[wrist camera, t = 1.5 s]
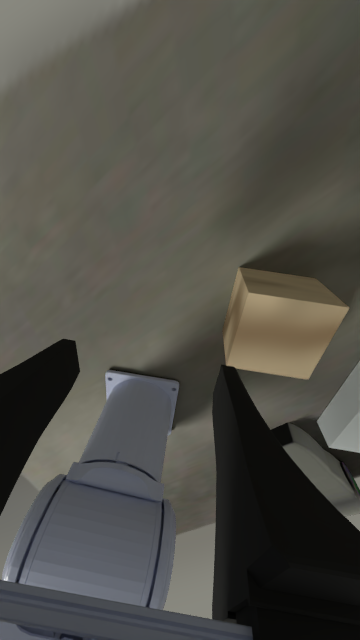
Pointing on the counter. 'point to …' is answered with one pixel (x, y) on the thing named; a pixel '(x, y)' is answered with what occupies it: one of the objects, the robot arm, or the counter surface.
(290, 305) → the block
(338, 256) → the counter surface
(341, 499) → the infrared thermometer
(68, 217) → the counter surface
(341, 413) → the board
